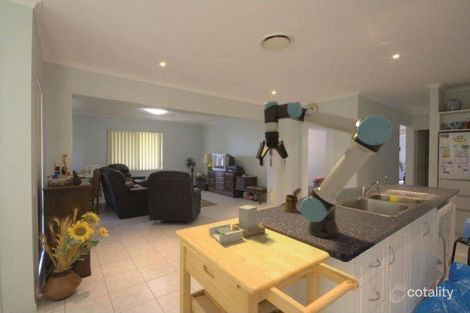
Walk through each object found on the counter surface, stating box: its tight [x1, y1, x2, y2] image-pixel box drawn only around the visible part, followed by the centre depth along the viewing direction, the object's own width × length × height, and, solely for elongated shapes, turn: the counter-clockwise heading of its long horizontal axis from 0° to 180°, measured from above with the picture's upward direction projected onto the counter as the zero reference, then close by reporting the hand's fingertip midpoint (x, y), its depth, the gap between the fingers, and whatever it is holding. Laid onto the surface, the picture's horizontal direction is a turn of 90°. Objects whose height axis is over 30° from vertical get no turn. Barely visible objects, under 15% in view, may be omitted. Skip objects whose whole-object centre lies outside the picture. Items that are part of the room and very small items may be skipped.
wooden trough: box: [231, 222, 266, 239], centre depth 122 cm, size 13×13×3 cm
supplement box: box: [238, 204, 258, 231], centre depth 122 cm, size 7×7×13 cm
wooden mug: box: [283, 187, 302, 213], centre depth 160 cm, size 9×14×18 cm, turn 29°
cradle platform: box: [216, 227, 233, 233], centre depth 115 cm, size 9×6×1 cm, turn 29°
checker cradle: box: [208, 222, 243, 245], centre depth 115 cm, size 14×12×5 cm
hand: (273, 171), depth 120 cm, fingers open, 13 cm apart
